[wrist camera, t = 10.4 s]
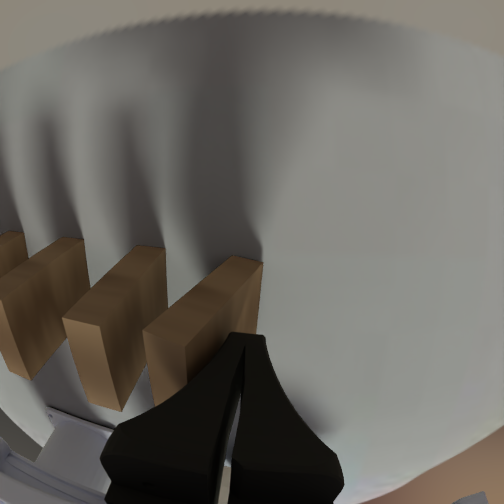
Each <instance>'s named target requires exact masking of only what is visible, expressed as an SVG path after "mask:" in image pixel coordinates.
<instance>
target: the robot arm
mask: <svg viewBox="0 0 504 504" xmlns="http://www.w3.org/2000/svg"><path fill="white" fill-rule="evenodd" d="M240 394H241V405H240V416H239V422H238V428H237V433H236V439H235V444H234V449H233V454H232V462H231V476H230V489H229V496H228V502H227V504H333V501H334V500H335V499H336V497H337V496H338V495H339V493H340V492H341V491H342V489H343V487H344V477H343V473H342V469H341V465H340V462H339V460H338V457H337V455H336V453H334V452H333V451H332V450H331V449H330V448H329V447H328V446H326V445H325V444H324V443H323V442H322V441H321V440H320V439H319V438H318V437H317V436H316V435H315V434H314V432H313V431H312V430H311V429H310V428H309V427H308V426H307V424H306V423H305V422H304V421H303V419H302V418H301V417H300V416H299V414H298V413H297V411H296V410H295V409H294V407H293V406H292V404H291V402H290V401H289V399H288V398H287V396H286V394H285V392H284V390H283V389H282V387H281V385H280V382H279V380H278V378H277V376H276V374H275V371H274V369H273V366H272V363H271V361H270V358H269V354H268V351H267V346H266V338H265V337H264V335H258V334H250V333H241V332H233V331H232V332H230V333H229V334H228V336H227V338H226V340H225V341H224V343H223V344H222V346H221V347H220V349H219V350H218V351H217V353H216V354H215V355H214V356H213V358H212V359H211V360H210V361H209V363H208V364H207V365H206V366H205V367H204V368H203V369H202V370H201V371H200V372H199V373H198V374H197V375H196V376H195V377H194V378H193V379H192V380H191V381H190V382H189V383H188V384H186V385H185V386H184V387H183V388H182V389H180V390H179V391H178V392H176V393H175V394H174V395H172V396H171V397H170V398H168V399H167V400H165V401H164V402H162V403H161V404H159V405H157V406H155V407H154V408H152V409H150V410H148V411H147V412H145V413H143V414H141V415H139V416H136V417H134V418H132V419H130V420H127V421H125V422H122V423H120V424H118V425H117V427H116V428H115V430H112V429H109V428H106V427H103V426H100V425H97V424H94V423H91V422H88V421H85V420H82V419H79V418H77V417H74V416H71V415H68V414H66V413H63V412H61V411H58V410H56V409H53V408H51V407H46V409H45V411H46V413H47V415H48V417H49V419H50V420H51V422H52V424H53V426H54V428H55V430H54V431H53V433H52V434H51V436H50V438H49V439H48V441H47V443H46V444H45V446H44V448H43V449H42V451H41V453H40V455H39V456H38V458H37V459H36V461H35V463H34V462H32V461H30V460H28V459H26V458H25V457H23V456H21V455H19V454H17V453H16V452H14V451H12V450H11V449H10V447H9V445H8V444H7V443H6V442H5V440H4V439H2V437H0V504H218V500H219V494H220V487H221V481H222V475H223V468H224V462H225V456H226V450H227V444H228V439H229V435H230V431H231V427H232V424H233V420H234V416H235V413H236V409H237V405H238V401H239V398H240ZM452 504H488V501H487V498H486V495H485V492H483V491H482V492H479V493H476V494H473V495H470V496H467V497H463V498H461V499H459V500H457V501H455V502H453V503H452Z"/></svg>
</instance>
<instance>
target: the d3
mask: <svg viewBox="0 0 504 504" xmlns="http://www.w3.org/2000/svg"><path fill="white" fill-rule="evenodd" d="M90 289H91V288H90V282H89V276H88V269H87V262H86V254H85V245H84V239H76V238H67V237H62V238H60V239H58V240H57V241H55V242H54V243H52V244H50V245H49V246H47V247H46V248H44V249H43V250H41V251H39V252H38V253H36V254H35V255H33V256H32V257H30V258H29V259H27V260H26V261H24V262H23V263H21V264H20V265H19V266H17V267H16V268H14V269H13V270H11V271H10V272H8V273H7V274H6V275H4V276H3V277H1V278H0V351H1V353H2V356H3V358H4V360H5V363H6V365H7V367H8V369H9V371H10V372H13V373H15V374H17V375H19V376H21V377H24V378H26V379H28V380H32V379H33V378H34V376H35V375H36V374H37V373H38V371H39V370H40V369H41V368H42V366H43V365H44V364H45V363H46V362H47V360H48V359H49V358H50V357H51V356H52V354H53V353H54V352H55V351H56V350H57V348H58V347H59V346H60V345H61V344H62V343H63V341H64V340H65V339H66V338H67V335H66V331H65V327H64V324H63V320H62V317H63V316H64V315H65V314H66V313H67V312H68V311H69V310H70V309H71V308H72V307H73V306H74V305H75V304H76V303H77V302H78V301H79V300H80V299H81V298H82V297H83V296H84V295H85V294H86V293H87V292H88V291H89V290H90Z"/></svg>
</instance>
